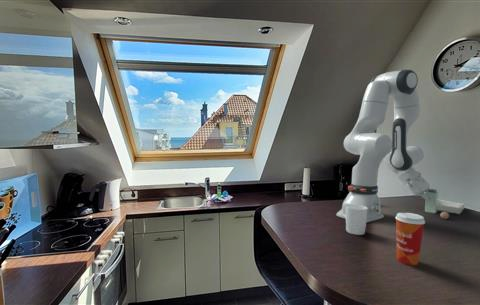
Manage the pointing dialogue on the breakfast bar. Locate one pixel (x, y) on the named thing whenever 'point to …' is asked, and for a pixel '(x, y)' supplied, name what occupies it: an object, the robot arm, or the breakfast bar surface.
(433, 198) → the shaker
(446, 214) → the ball
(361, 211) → the white cup
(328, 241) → the breakfast bar surface
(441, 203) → the dish
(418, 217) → the paper cup
